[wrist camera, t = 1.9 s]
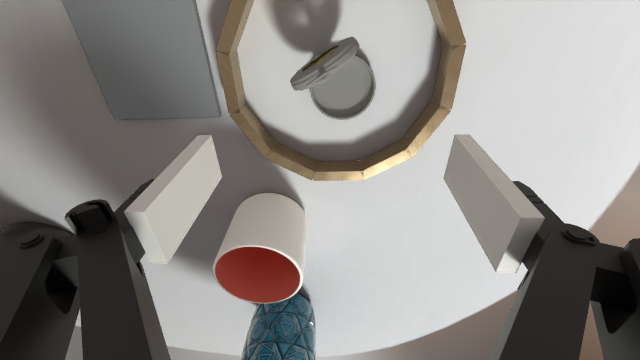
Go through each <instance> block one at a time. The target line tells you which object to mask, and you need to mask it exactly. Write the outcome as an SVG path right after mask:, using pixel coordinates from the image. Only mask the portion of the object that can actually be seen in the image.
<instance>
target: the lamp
mask: <svg viewBox="0 0 640 360" xmlns="http://www.w3.org/2000/svg"><path fill="white" fill-rule="evenodd" d="M241 360H315V315H314V311H313V307H312V305H311V304H310V302H309V301H308V300H307V299H306V298H305V297H303V296H302V295H300V294H298V293H296V294H295V295H293V296H292V297H290V298H288V299H286V300H284V301H281V302H276V303H268V304H261V303H259V304H258V306H257V308H256V310H255V312H254V315H253V318H252V321H251V324H250V327H249V331H248V334H247V338H246V341H245V345H244V349H243V353H242V356H241Z"/></svg>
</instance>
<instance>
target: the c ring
mask: <svg viewBox="0 0 640 360" xmlns="http://www.w3.org/2000/svg"><path fill="white" fill-rule="evenodd" d="M253 1H254V0H231V3H230V6H229V9H228V12H227V15H226V19H225V22H224V25H223V28H222V32H221V35H220V38H219V41H218V45H217V48H216V50H217V52H216V55H217V60H218V65H219V70H220V74H221V79H222V84H223V89H224V93H225V98H226V103H227V108H228V113H231V114H230V116H231V118H232V119H233V120H234V121H235V122H236V124H237V125H238V126H239V127H240V129H241V130H242V131H243V132H244V134H245V135H246V136H247V137H248V139H249V140H250V141H251V142H252V143H253V145H254V146H255V147H256V148H257V150H258V151H259V152H260V153H261V155H262V156H263V157H264V158H265V157H266V159H267V160H269V161H271V162H273V163H275V164H277V165H280V166H282V167H284V168H286V169H288V170H290V171H293V172H295V173H297V174H299V175H301V176H303V177H306V178H308V179H310V180H312V179H313V181H331V180H363V178H364V179H365V180H366V179H368V178H370V177H372V176H374V175H376V174H378V173H380V172H382V171H384V170H387V169H389V168H391V167H393V166H395V165H397V164H399V163H401V162H403V161H405V160H407V159H410V158H412V155H413V156H414V155H415V154H416V153H417V152H418V150H419V149H420V148H421V147H422V146H423V144H424V143H425V142H426V141H427V139H428V138H429V137H430V136H431V135H432V133H433V132H434V131H435V130H436V128H437V127H438V126H439V125H440V124H441V122H442V121H443V120H444V119H445V117H446V116H447V115H448V114H449V113H450V110H449V109H452V106H453V101H454V97H455V92H456V88H457V84H458V79H459V75H460V70H461V66H462V61H463V57H464V52H465V48H466V45H465V44H464V43H466V41H465V38H464V35H463V31H462V28H461V25H460V22H459V19H458V16H457V13H456V9H455V6H454V3H453V0H427V2H428V5H429V8H430V10H431V13H432V16H433V19H434V22H435V24H436V27H437V30H438V33H439V36H440V38H441V41H442V49H441V55H440V60H439V66H438V71H437V77H436V82H435V88H434V93H433V99H432V100H431V102H430V103H429V104H428V106H427V107H426V108H425V110H424V111H423V112H422V114H421V115H420V116H419V117H418V119H417V120H416V121H415V123H414V124H413V125H412V127H411V128H410V129H409V131H408V132H407V133H406V134H405V136H404V137H403V138H402V140H400V141H398V142H396V143H394V144H392V145H390V146H388V147H386V148H384V149H382V150H380V151H378V152H376V153H374V154H372V155H370V156H368V157H366V158H364V159H362V160H360V161H314V160H312V159H310V158H308V157H306V156H304V155H302V154H300V153H298V152H296V151H294V150H291V149H289V148H287V147H285V146H283V145H281V144H279V143H277V142H275V141H274V139H273V138H272V137H271V135H270V134H269V133H268V132H267V130H266V129H265V128H264V126H263V125H262V124H261V122H260V121H259V120H258V118H257V117H256V116H255V114H254V113H253V112H252V111H251V109H250V108H249V107H248V105H247V104H246V101H245V95H244V89H243V83H242V78H241V72H240V66H239V60H238V54H237V47H238V45H239V42H240V39H241V36H242V33H243V30H244V27H245V24H246V22H247V19H248V16H249V13H250V10H251V7H252V4H253Z"/></svg>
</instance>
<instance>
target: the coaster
mask: <svg viewBox="0 0 640 360" xmlns="http://www.w3.org/2000/svg"><path fill="white" fill-rule="evenodd" d="M62 2H63V4H64V6H65V9H66V11H67V13H68V15H69V18H70V20H71V22H72V24H73V27H74V29H75V31H76V34H77V36H78V38H79V40H80V43H81V45H82V47H83V50H84V52H85V54H86V56H87V59H88V61H89V63H90V65H91V68H92V70H93V72H94V75H95V77H96V79H97V81H98V84H99V86H100V88H101V91H102V93H103V95H104V97H105V100H106V102H107V104H108V106H109V109H110V111H111V113H112V116H113V118H114V119H156V118H209V117H220V116H221V111H220V107H219V102H218V98H217V93H216V89H215V85H214V80H213V76H212V71H211V67H210V62H209V58H208V53H207V49H206V45H205V40H204V36H203V31H202V27H201V22H200V18H199V14H198V9H197V5H196V0H62Z"/></svg>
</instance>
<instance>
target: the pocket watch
mask: <svg viewBox="0 0 640 360" xmlns="http://www.w3.org/2000/svg"><path fill="white" fill-rule="evenodd" d="M358 48H359V44H358V42H357V40H356V39H355V38H354V37H349V38H346V39H344V40H342V41H340V42H338V43H336V44H334V45H333V46H331V47H329V48H327V49H326V50H325V51H323V52H322V53H320V54H319V55H317V56H316V57H315V58H313V59H312V60H310V61H309V62H308V63H307V64H306V65H304V66H303V67H302V68H301V69H300V70H298V72H297V73H296V74H295V75H294V76H293V77H292V78H291V80H290V82H291V85H292V87H293V89H294V90H304V89H307V88H310V91H311V97H312V100H313V102H314V104H315V105H316V107H317V108H318V109H319V110H320V111H321V112H322V113H323V114H325V115H326V116H328V117H330V118H333V119H339V120H344V119H351V118H353V117H356V116H358V115H360V114H361V113H362V112H363V111H365V110H366V108H367V107H368V106H369V105H370V103H371V102H372V99H373V97H374V94H375V88H376V83H375V77H374V74H373V71H372V69H371V68H370V67H369V65H368V64H367V63H366V62H365V61H364V60H363V59H362V58H360V57H359V56H356V55H355V54H356V52H357V50H358Z"/></svg>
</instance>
